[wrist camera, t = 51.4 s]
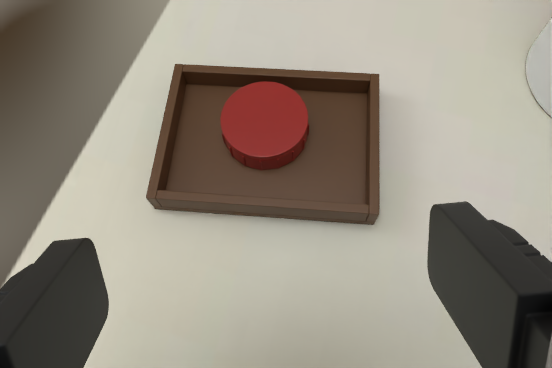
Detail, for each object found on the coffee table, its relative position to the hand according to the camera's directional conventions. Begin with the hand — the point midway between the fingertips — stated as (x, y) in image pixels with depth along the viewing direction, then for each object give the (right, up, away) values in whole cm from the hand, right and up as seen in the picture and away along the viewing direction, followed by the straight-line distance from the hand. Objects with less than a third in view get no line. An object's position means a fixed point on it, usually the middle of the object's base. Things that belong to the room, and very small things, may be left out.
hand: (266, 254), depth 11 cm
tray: (0, +4, +20) cm, 20 cm away
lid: (-1, +6, +18) cm, 19 cm away
